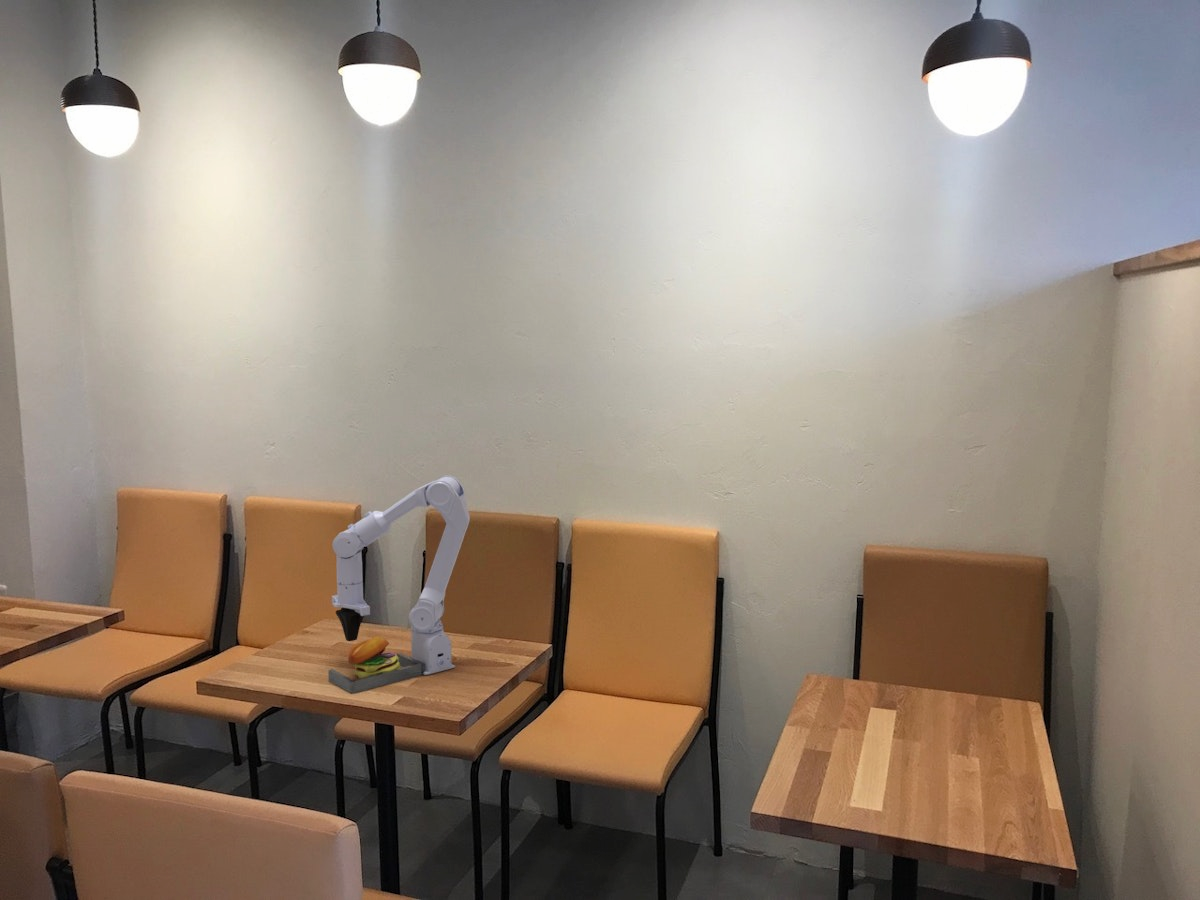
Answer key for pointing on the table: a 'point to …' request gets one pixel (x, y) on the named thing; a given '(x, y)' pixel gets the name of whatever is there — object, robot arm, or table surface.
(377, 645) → the cheeseburger
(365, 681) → the grey low angled fixture
